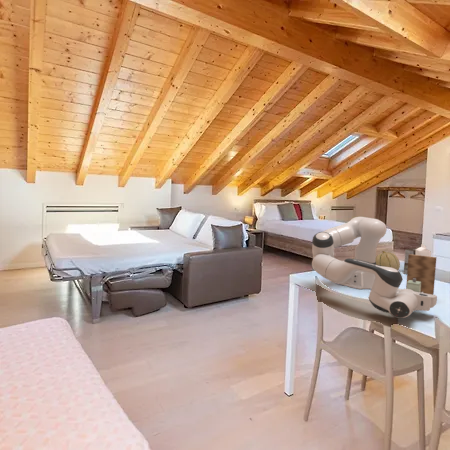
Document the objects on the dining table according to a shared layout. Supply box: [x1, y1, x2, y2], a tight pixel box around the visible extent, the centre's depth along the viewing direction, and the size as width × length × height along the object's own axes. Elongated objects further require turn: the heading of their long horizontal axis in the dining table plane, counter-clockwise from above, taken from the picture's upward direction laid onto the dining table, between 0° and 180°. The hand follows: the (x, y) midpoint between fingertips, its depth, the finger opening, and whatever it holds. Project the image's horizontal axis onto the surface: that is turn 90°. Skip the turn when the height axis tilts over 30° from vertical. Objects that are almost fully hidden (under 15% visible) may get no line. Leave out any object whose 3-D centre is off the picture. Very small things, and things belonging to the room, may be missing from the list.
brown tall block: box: [405, 254, 437, 295], centre depth 172 cm, size 12×16×22 cm
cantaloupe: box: [375, 250, 401, 271], centre depth 218 cm, size 15×15×15 cm
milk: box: [415, 243, 432, 257], centre depth 203 cm, size 6×6×22 cm
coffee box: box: [403, 247, 417, 275], centre depth 221 cm, size 9×6×16 cm
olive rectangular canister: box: [406, 278, 421, 292], centre depth 160 cm, size 5×5×14 cm
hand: (413, 291), depth 161 cm, fingers closed on olive rectangular canister, 5 cm apart
